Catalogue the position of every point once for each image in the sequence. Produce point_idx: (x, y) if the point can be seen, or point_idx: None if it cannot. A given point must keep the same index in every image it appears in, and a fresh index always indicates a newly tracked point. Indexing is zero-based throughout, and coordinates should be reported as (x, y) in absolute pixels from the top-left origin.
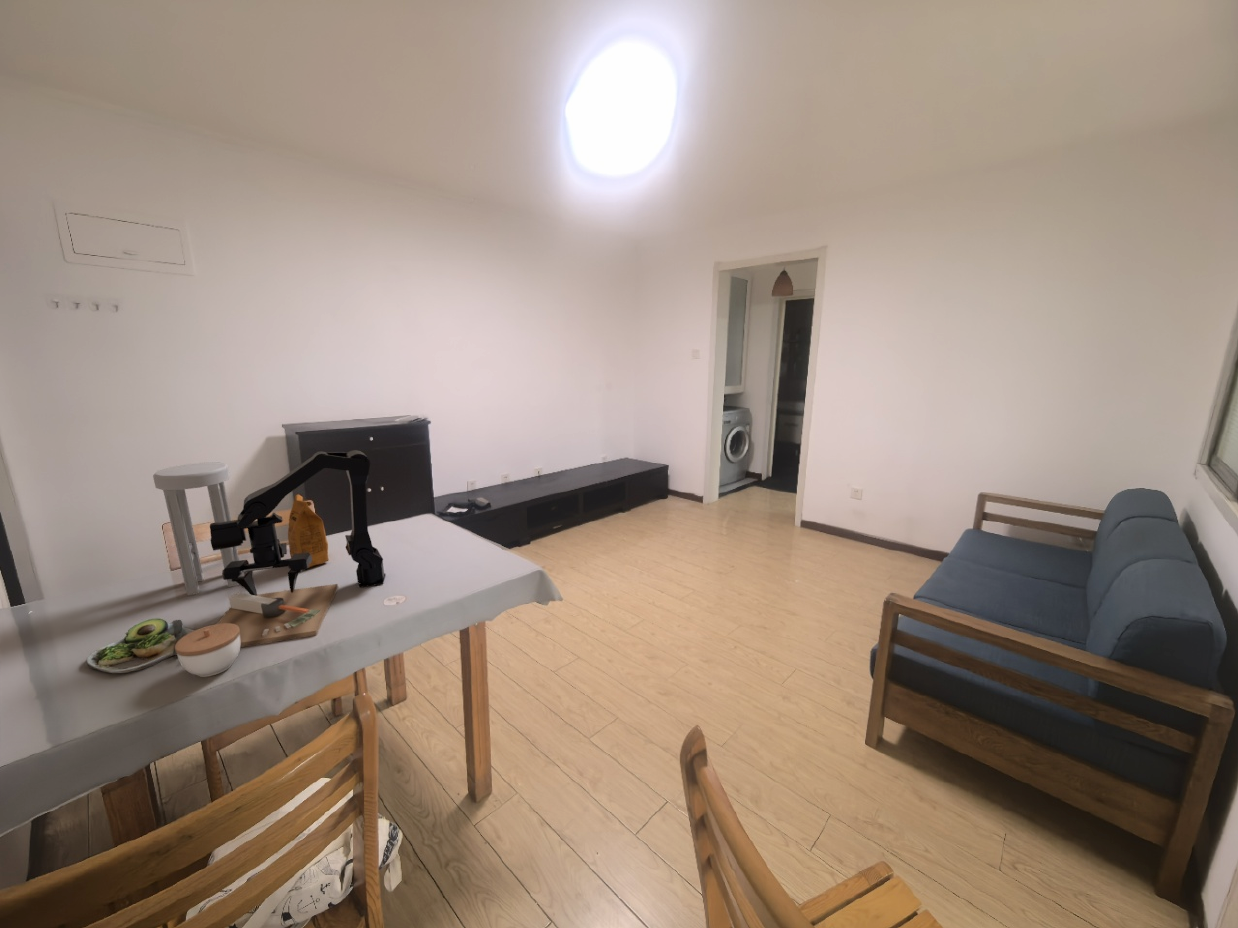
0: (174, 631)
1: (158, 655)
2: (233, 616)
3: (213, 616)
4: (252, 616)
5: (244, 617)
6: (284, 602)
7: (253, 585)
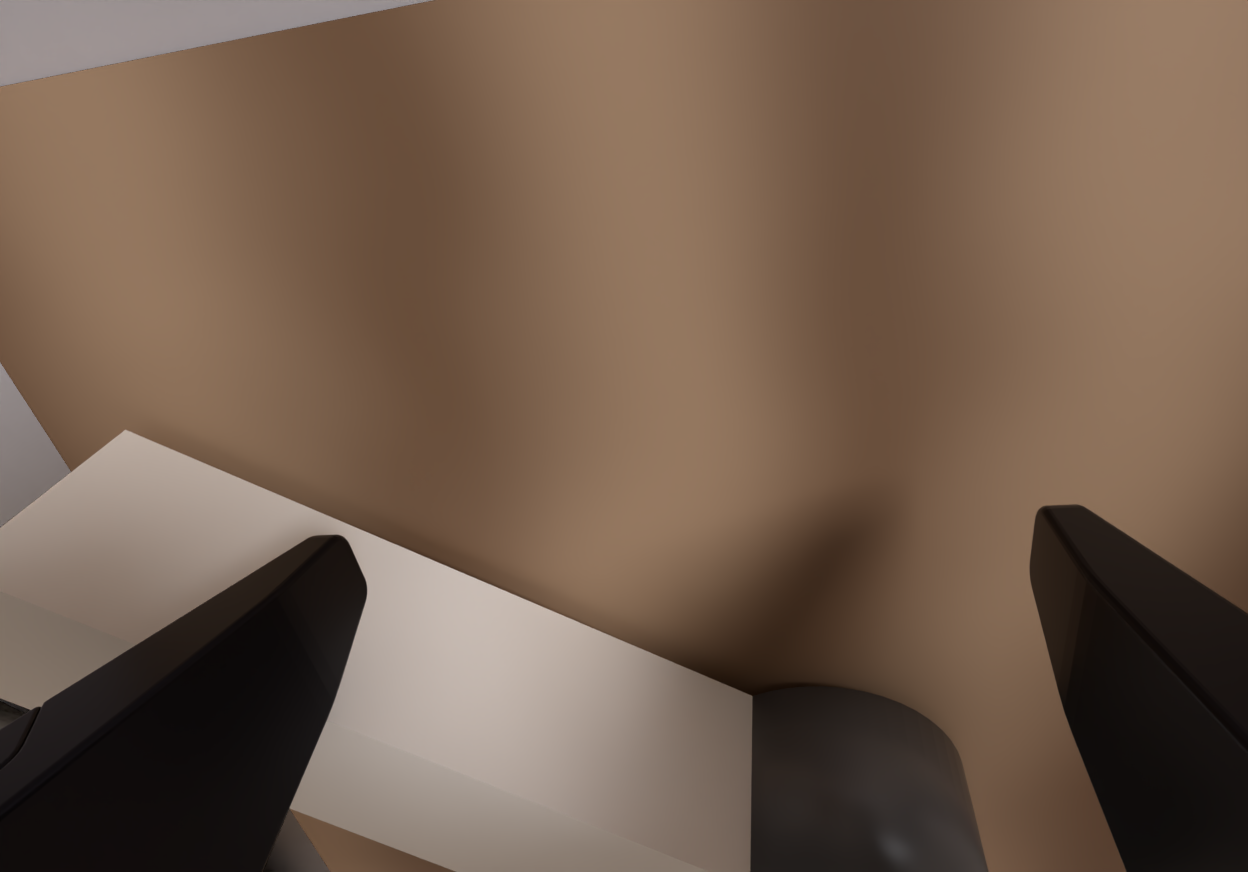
0: None
1: None
2: None
3: (15, 505)
4: None
5: None
6: (852, 513)
7: (174, 763)
